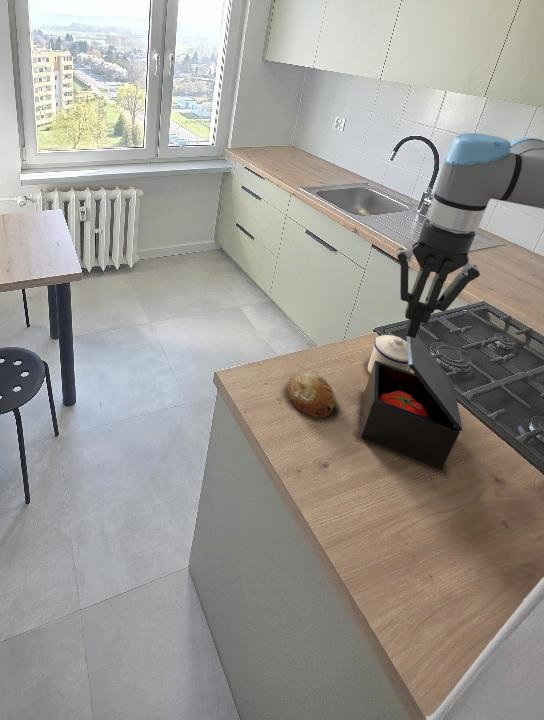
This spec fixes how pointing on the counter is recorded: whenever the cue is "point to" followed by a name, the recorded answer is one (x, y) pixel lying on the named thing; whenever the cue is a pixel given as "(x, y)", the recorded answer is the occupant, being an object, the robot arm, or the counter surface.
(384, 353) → the teacup with lid
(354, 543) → the counter surface
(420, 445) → the black open box
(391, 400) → the tomato
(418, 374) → the bin lid
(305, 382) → the bread roll
